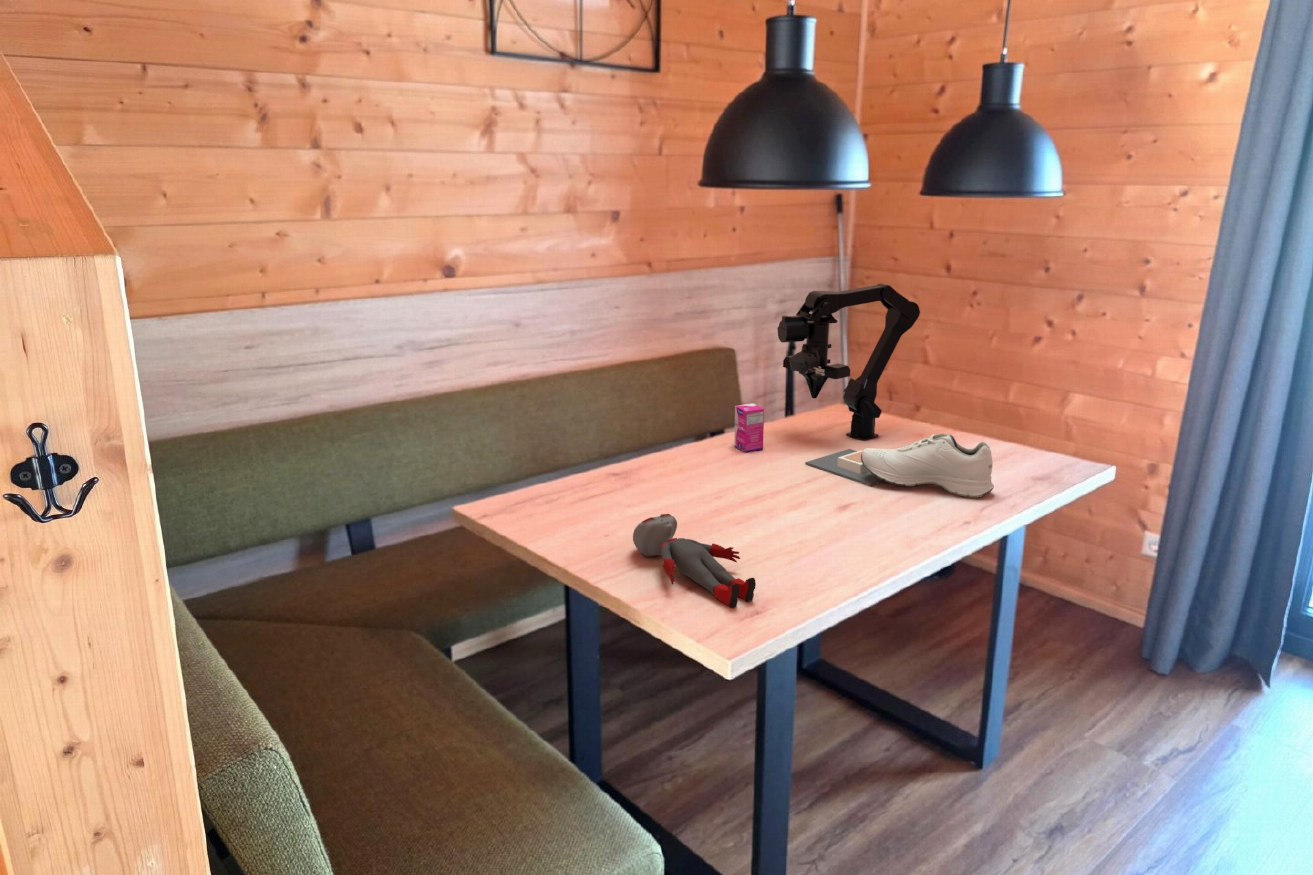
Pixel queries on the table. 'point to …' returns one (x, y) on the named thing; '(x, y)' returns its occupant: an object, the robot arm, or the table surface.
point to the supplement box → (749, 427)
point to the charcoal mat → (830, 466)
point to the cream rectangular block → (852, 462)
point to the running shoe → (934, 465)
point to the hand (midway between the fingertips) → (814, 398)
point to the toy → (692, 559)
